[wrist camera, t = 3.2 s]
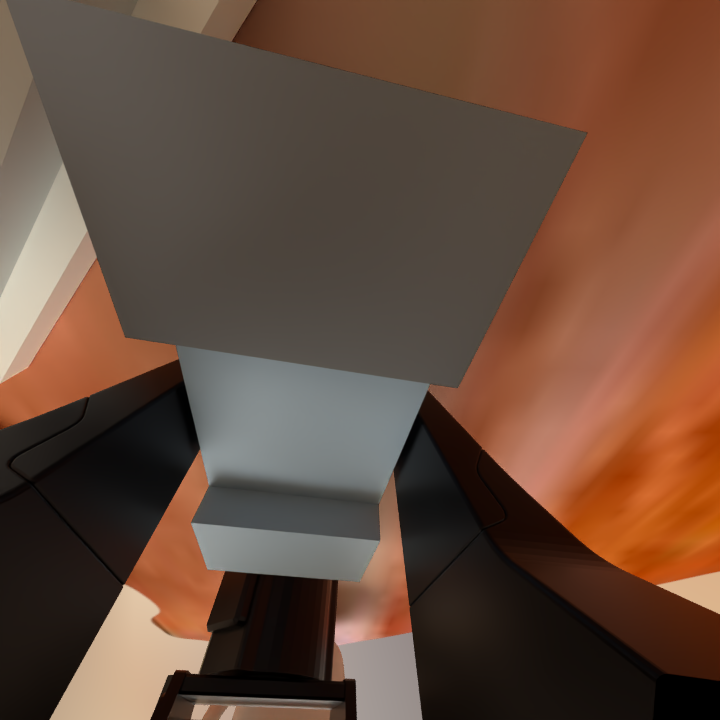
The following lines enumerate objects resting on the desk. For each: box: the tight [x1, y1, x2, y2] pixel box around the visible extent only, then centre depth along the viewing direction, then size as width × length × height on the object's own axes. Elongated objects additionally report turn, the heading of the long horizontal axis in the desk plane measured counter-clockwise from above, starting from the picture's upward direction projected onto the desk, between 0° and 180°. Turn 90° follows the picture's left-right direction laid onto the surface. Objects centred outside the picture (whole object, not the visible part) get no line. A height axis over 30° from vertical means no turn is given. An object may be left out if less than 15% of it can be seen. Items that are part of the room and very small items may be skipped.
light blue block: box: [6, 0, 587, 582], centre depth 8 cm, size 12×5×5 cm, turn 170°
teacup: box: [202, 642, 345, 720], centre depth 25 cm, size 12×15×10 cm
